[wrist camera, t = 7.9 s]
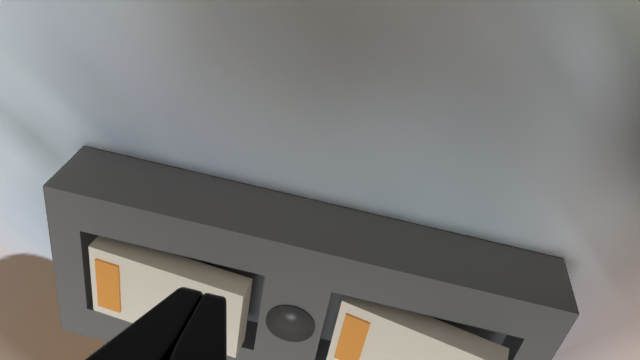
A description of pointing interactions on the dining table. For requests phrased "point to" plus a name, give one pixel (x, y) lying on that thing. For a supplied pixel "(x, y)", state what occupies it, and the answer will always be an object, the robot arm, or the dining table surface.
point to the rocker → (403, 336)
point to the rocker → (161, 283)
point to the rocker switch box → (297, 259)
